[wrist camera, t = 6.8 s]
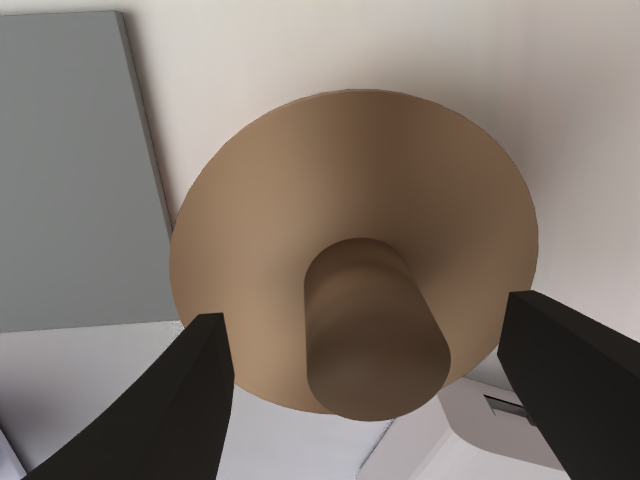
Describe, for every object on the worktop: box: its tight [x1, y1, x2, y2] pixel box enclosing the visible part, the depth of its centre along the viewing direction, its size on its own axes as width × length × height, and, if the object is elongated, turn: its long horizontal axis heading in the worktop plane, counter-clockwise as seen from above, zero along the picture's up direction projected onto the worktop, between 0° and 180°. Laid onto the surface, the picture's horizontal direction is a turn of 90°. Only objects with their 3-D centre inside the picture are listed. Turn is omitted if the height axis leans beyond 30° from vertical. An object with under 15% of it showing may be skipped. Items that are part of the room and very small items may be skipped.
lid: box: [169, 89, 538, 421], centre depth 10 cm, size 11×11×4 cm
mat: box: [0, 11, 180, 333], centre depth 15 cm, size 12×12×1 cm
